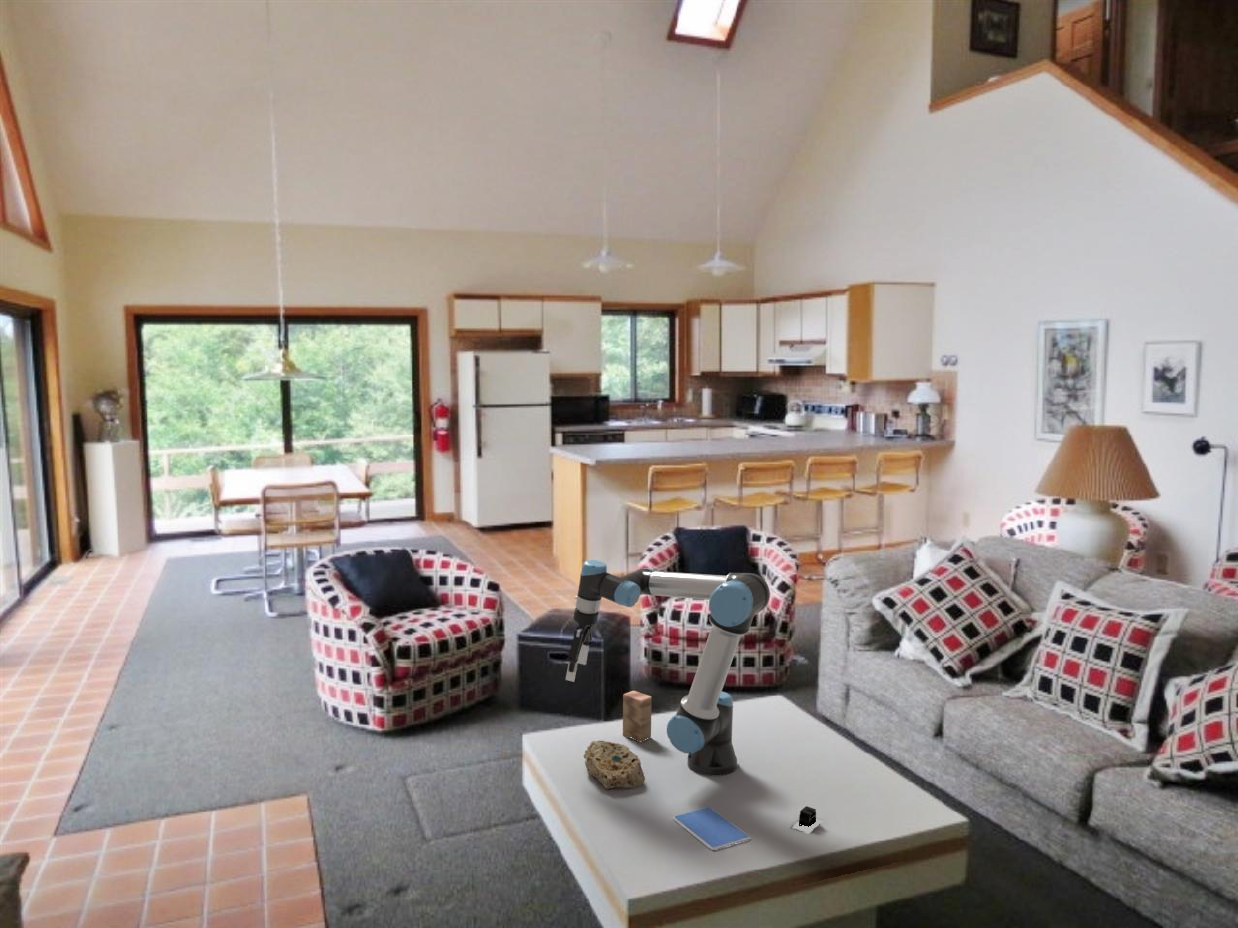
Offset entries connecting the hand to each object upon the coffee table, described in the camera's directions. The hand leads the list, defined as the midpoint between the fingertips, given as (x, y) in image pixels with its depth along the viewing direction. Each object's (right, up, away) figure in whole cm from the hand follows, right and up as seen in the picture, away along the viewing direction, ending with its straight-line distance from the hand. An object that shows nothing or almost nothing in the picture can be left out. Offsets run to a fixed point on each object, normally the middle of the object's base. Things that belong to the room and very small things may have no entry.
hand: (575, 671), depth 290 cm
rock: (+11, -28, -16) cm, 34 cm away
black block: (+64, -32, -43) cm, 84 cm away
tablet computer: (+38, -32, -46) cm, 67 cm away
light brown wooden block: (+19, -24, +13) cm, 34 cm away
